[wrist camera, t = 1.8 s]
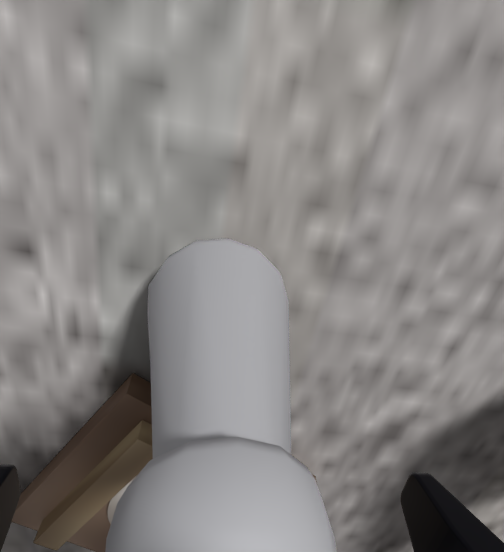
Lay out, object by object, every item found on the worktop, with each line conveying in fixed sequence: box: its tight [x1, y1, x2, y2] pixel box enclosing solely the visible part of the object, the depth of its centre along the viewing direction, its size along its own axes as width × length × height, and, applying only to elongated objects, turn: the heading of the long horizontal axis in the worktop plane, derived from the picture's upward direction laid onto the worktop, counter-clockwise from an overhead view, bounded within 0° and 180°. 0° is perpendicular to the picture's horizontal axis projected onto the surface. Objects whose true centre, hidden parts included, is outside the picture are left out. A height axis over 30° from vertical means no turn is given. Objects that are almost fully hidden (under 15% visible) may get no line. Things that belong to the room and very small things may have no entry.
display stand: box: [11, 373, 318, 552], centre depth 22 cm, size 14×12×3 cm
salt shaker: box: [105, 238, 337, 552], centre depth 12 cm, size 6×6×13 cm
